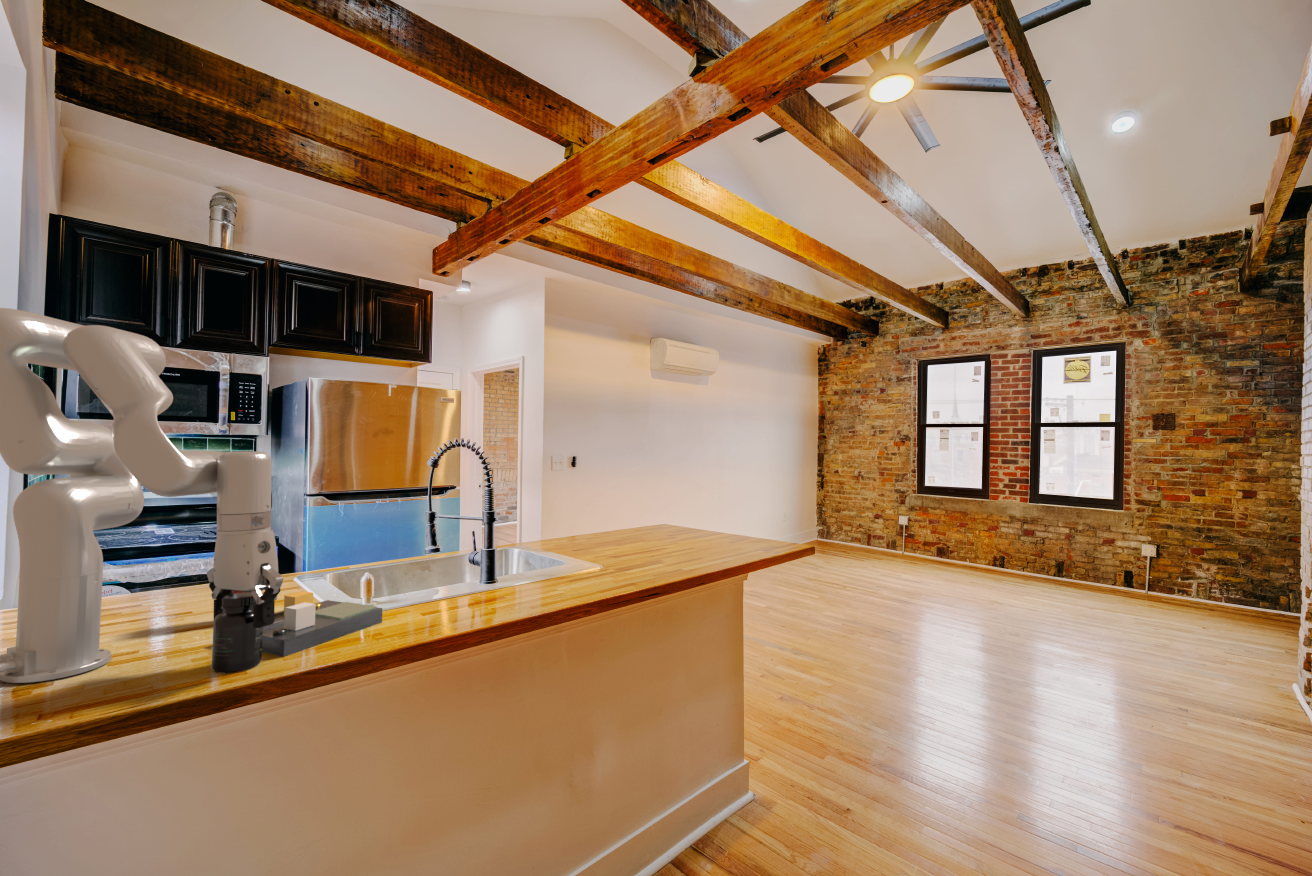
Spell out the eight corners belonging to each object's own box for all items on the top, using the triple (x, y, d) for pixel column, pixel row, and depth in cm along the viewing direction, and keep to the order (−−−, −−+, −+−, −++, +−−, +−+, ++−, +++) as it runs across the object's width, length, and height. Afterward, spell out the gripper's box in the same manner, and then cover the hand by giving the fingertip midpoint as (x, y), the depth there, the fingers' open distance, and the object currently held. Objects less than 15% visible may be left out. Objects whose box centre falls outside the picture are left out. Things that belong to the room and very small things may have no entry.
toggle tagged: (294, 617, 112) (295, 597, 113) (283, 615, 113) (284, 595, 114) (312, 612, 116) (313, 592, 116) (302, 610, 117) (302, 591, 117)
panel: (283, 656, 100) (284, 636, 100) (223, 644, 105) (223, 625, 105) (382, 622, 120) (382, 605, 120) (327, 613, 126) (327, 597, 126)
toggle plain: (295, 630, 104) (296, 609, 104) (283, 628, 105) (284, 607, 105) (314, 624, 108) (315, 604, 108) (303, 622, 109) (304, 602, 109)
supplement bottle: (245, 656, 99) (248, 588, 100) (270, 662, 97) (273, 593, 97) (202, 669, 93) (205, 597, 93) (227, 677, 90) (230, 602, 91)
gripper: (301, 522, 96) (301, 621, 96) (233, 518, 102) (232, 612, 102) (257, 527, 89) (256, 635, 89) (186, 524, 95) (185, 625, 95)
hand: (243, 623), depth 95 cm, fingers open, 9 cm apart
